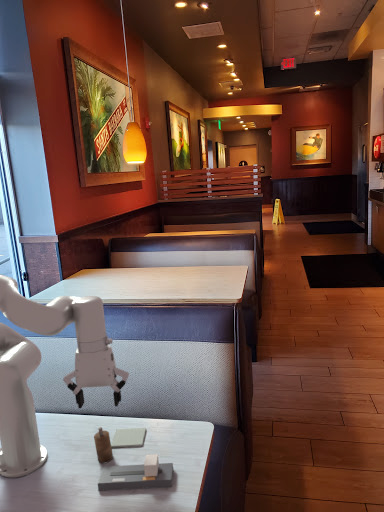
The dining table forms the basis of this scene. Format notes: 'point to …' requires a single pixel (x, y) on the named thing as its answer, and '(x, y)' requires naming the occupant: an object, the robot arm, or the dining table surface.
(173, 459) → the dining table surface
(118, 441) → the mat
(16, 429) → the robot arm
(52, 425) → the dining table surface
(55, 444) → the dining table surface
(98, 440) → the tool handle
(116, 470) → the switch board
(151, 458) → the switch tab
